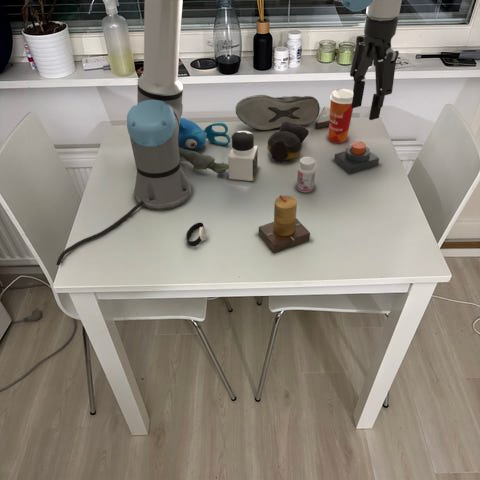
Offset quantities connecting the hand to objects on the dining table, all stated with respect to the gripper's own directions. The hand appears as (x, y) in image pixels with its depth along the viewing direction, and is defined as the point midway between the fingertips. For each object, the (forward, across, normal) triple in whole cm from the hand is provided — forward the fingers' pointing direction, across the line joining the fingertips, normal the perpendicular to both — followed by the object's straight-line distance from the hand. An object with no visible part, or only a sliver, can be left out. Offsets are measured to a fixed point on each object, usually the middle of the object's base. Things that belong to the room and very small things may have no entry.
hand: (364, 112), depth 128 cm
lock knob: (+13, -20, +36) cm, 43 cm away
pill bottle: (+15, -4, +20) cm, 25 cm away
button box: (+15, 0, 0) cm, 15 cm away
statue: (+11, +35, +53) cm, 64 cm away
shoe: (+10, +29, +10) cm, 32 cm away
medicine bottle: (+15, +11, +32) cm, 37 cm away
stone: (+17, +24, -7) cm, 30 cm away
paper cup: (+15, +14, -3) cm, 21 cm away
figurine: (+11, +10, +21) cm, 26 cm away
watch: (+15, -10, +55) cm, 58 cm away
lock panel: (+15, -20, +36) cm, 44 cm away
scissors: (+11, +26, +29) cm, 41 cm away
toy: (+6, +34, +41) cm, 53 cm away
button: (+11, 0, 0) cm, 11 cm away
